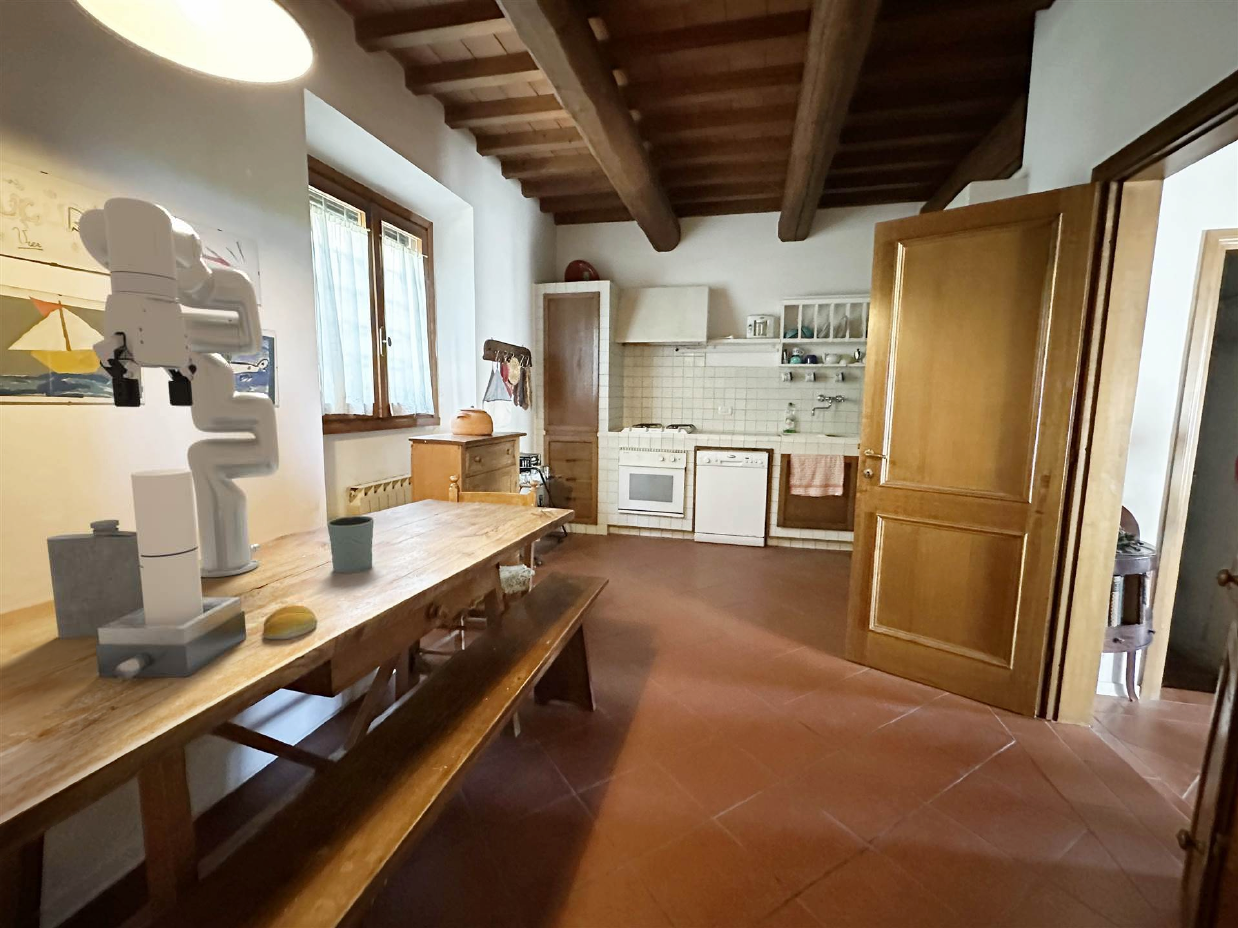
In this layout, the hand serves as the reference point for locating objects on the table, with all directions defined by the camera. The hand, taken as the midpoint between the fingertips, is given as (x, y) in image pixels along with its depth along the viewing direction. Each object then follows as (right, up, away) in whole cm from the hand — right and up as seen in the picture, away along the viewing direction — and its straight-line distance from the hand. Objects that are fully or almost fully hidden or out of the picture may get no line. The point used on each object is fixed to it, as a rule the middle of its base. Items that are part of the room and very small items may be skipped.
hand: (156, 406), depth 81 cm
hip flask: (-19, -39, +13) cm, 45 cm away
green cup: (+5, -35, +50) cm, 61 cm away
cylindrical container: (-1, -35, +4) cm, 35 cm away
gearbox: (-1, -40, +3) cm, 40 cm away
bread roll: (+11, -39, +15) cm, 44 cm away
